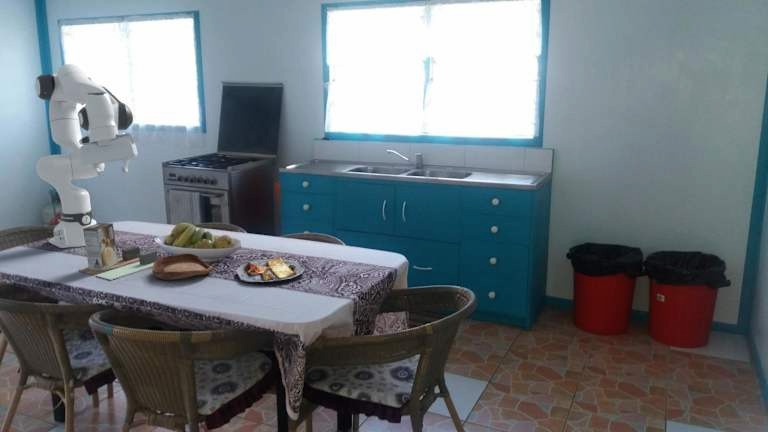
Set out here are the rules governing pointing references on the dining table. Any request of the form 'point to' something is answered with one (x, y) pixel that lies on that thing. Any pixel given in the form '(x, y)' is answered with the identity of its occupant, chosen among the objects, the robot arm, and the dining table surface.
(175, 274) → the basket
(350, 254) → the dining table surface
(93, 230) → the coffee box
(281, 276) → the food plate
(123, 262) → the walnut strip
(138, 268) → the sage strip
